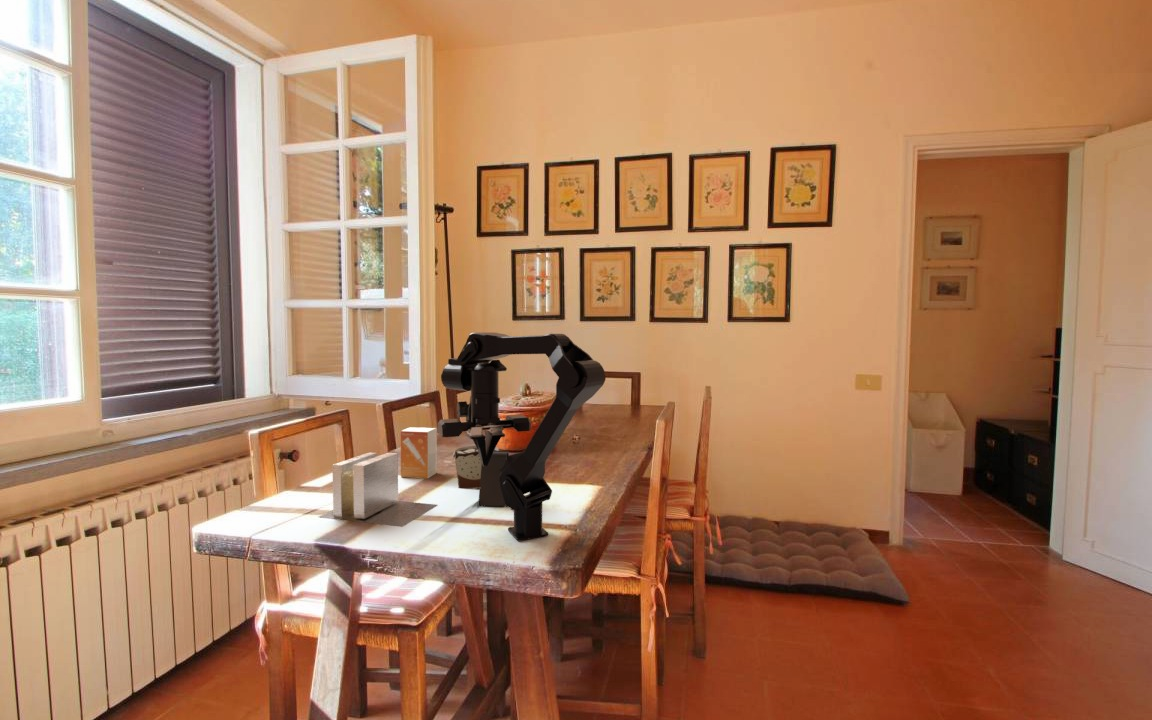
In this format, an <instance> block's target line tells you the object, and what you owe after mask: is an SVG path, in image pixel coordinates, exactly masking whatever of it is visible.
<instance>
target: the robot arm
mask: <svg viewBox="0 0 1152 720" xmlns="http://www.w3.org/2000/svg"><path fill="white" fill-rule="evenodd" d="M512 355H546V356H547V358H548V359H549V363H550V366H551V369H552V371H553V372H554V373H555V375H556V376H557V377H558V378H557V382H556V385H555V389H556V390H555V393H556V394H555V398H554V400H553V402H552V403H551V404H550V406H549V407H548V410H547V411H546V413H545V415H544V416H543V419H542V420H541V422H540V423H539V425H538V427H537V429H536V430H535V432H534V433H533V435H532V436H531V439H530V440H529V442H528V443H527V445H526V447H525V449H524V450H523V451H520V452H517V453H514V454H509V457H508V458H507V460H506V462H505V465H504V466H503V468H501V469H500V471H501V472H502V473H501V474H500V477H499V482H500V487H501V491H502V495H503V498H504V502H505V506H504V507H506V508H509V509H510V510H511V511H513V526H509V527H508V528H507V531H508V532H509V533H510V534H511V535H512V537H513V538H515V539H516V540H517V541H526V540H531V539H537V538H544V537H548V536H549V532H548V531H547V530H546V529H545V528H544V527H543V502H546V501H549V500H550V499H551V497H552V494H553V489H552V488H551V487H550V485H549V484H548V482H546V480H545V478H544V476H545V474H546V461H547V460H548V458H549V457H550V455H551V453H552V452H553V450H554V448H555V447H556V445H557V444H558V442H559V441H560V439H561V437H562V435H563V434H564V432H565V431H566V429H567V428H568V426H569V425H570V422H571V421H572V420H573V418H574V416H575V415H576V413H577V412H578V409H579V408H580V407H581V406H582V405H584V404H585V403H586V402H588V401H589V400H590V399H592V398H593V397H594V396H595V395H596V394H597V393H598V391H599V390H600V389H601V388H602V387H603V386H604V384H605V381H606V373H605V369H604V368H603V365H602V364H601V363H600V362H598V361H597V360H594V359H593V357H591V355H590V354H588V353H587V352H586V351H585V350H583V349H582V348H581V347H580V346H578V345H577V344H576V343H574V342H573V341H572V340H571V339H570V337H569V336H568V335H566V334H564V333H547V334H544V335H541V334H539V335H519V336H518V335H517V336H511V335H508V334H504V333H498V332H471V333H470V334H469V335H468V337H467V338H466V342H465V344H464V345H463V347H462V349H461V351H460V352H459V355H458V356H457V358H456V357H455V358H448V362H447V363H448V364H446V365H445V367H444V368H443V369H442V372H441V374H440V381H441V383H442V385H443V387H445V388H446V389H447V390H448V389H449V390H457V391H465V392H466V391H467V392H470V396H469V402H467V401H466V400H465V401H458V402H457V403H456V415H457V418H445V419H440V420H439V421H438V422H437V433H438V434H439V436H440V437H442V438H453V437H455V438H456V437H460V435H462V433H463V432H464V434H465V436H466V437H467V438H468V439H470V440H472V442H473V444H474V445H476V448H477V450H478V453H479V456H480V459H481V462H482V465H483V466H488V464H489V461H490V459H491V456H492V454H493V452H494V449H495V447H497V446H498V443H499V442H500V440H501V438H504V437H506V433H504V429H511V428H512V429H514V430H515V431H516V432H518V433H519V432H530V431H532V427H531V426H532V422H531V419H530V418H529V417H527V416H525V415H523V414H511V415H510V414H509V415H506V416H505V419H501V417H499V405H500V404H501V399H500V397H499V395H500V394H499V388H500V387H499V383H500V382H499V377H500V376H499V373H500V372H506V371H507V367H506V366H505V365H504V364H503V363H502V361H500V359H502V358H506V357H509V356H512ZM468 403H469V404H468ZM458 418H465V422H463V421H461V420H459V419H458ZM483 431H484V434H483ZM527 493H529V494H527ZM525 494H526V495H525Z"/></svg>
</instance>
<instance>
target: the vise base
mask: <svg viewBox="0 0 1152 720" xmlns="http://www.w3.org/2000/svg"><path fill="white" fill-rule="evenodd" d="M377 456H378V455H377V452H366V453H363V454H359V455H358V456H354V457H351V458H349V459H346V460H342V461H340V462H337V463H333V464H332V502H333V503H332V506H333V507H332V510H330V511H328V512H326V513H324V514H321V515H320V516H318V518H322V519H331V520H339V521H340V520H341V521H348V522H355V523H357V522H358V523H366V524H374V525H376V524H377V525H384V526H391V527H392V526H393V527H401V528H402V527H404V526H406V525H407V524H409V523H411V522H413V521H414V520H416V519H418V518H419V517H421V516H422V515H424V514H425V513H427V512H429V511H431V510H433V509H434V508H435V507H437V506H438V504H433V503H423V502H413V501H401V500H398V502H396V503H394V504H392V505H390V506H388V507H386V508H384V509H382V510H380V511H378V512H377V513H375V514H373V515H371V516H369V517H367V518H365V519H362V518H354V513H351V476H352V475H353V465H355V464H357V463H360V462H363V461H366V460H368V459H371V458H374V457H377Z"/></svg>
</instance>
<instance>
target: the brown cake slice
mask: <svg viewBox="0 0 1152 720" xmlns="http://www.w3.org/2000/svg"><path fill="white" fill-rule="evenodd" d="M494 451H500V448H499V447H497V446H496V447H495V449H494ZM452 459H454V460H455V469H456V477H457V479H456V480H457V487H458V489H461V490H463V489H464V490H474V489H480V478H481V465H482V462H481V459H480V456H479V453H478V450H477V448H476V445H475V444H474V445H467V446H461V447H457V448H456V449H454V452H453V454H452Z"/></svg>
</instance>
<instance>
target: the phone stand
mask: <svg viewBox="0 0 1152 720" xmlns="http://www.w3.org/2000/svg"><path fill="white" fill-rule="evenodd" d="M509 455H510V453H509V451H508V450H499V451H494V452H493V454H492V456H491V459H490V461H489V464H488V466H483V465H481V478H480V488H479V493H478V494H479V495H478V507H489V508H491V507H492V508H493V507H495V508H505V507H506V506H505V502H504V498H503V495H502V491H501V487H500V482H499V477H500V474H501V473H502V472H501V471H500V469H501V468H503V466H504V465H505V462H506V460H507V458H508V457H509Z"/></svg>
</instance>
